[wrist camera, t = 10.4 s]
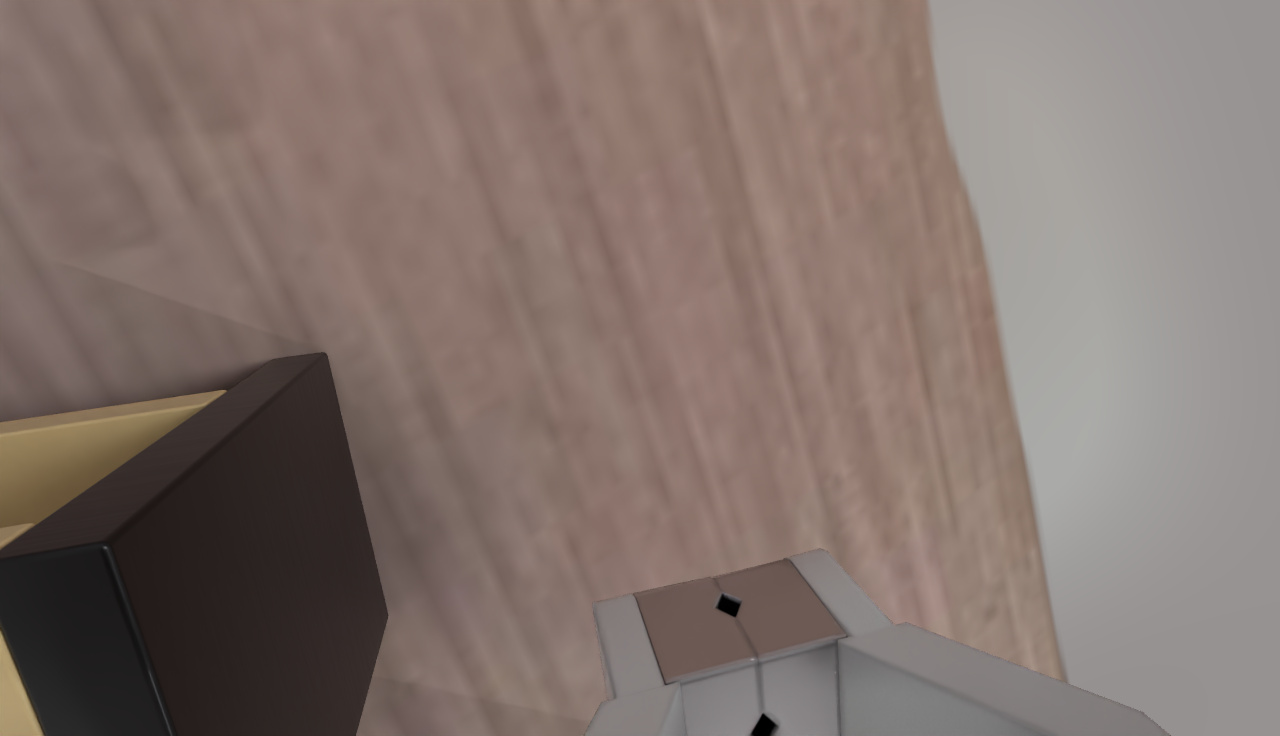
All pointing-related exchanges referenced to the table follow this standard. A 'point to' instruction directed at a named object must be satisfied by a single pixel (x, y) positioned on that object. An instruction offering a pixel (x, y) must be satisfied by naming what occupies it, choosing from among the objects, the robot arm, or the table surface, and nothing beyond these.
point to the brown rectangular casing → (188, 566)
